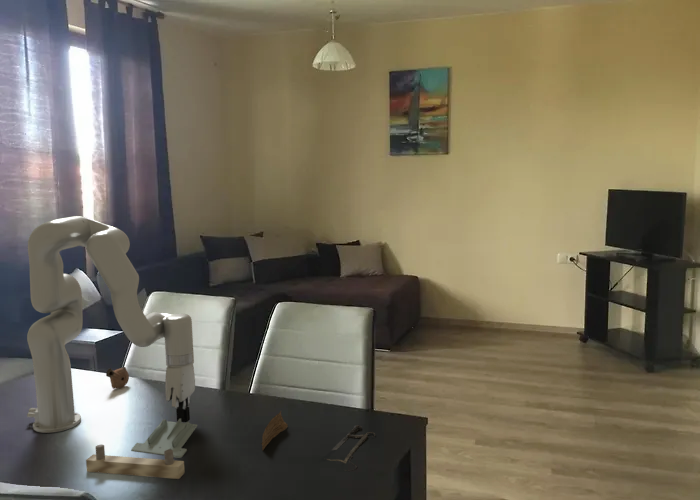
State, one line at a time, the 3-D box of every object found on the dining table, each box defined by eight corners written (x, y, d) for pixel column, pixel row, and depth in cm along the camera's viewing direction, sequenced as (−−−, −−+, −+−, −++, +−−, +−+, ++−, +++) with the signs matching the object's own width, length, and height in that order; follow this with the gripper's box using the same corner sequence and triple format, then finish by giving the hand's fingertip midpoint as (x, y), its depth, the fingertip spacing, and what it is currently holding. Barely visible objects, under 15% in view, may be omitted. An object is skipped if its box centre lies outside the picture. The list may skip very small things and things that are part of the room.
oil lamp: (111, 394, 207) (109, 370, 205) (102, 392, 208) (100, 368, 207) (132, 385, 214) (130, 362, 213) (123, 383, 216) (121, 360, 215)
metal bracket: (156, 412, 177) (204, 418, 172) (160, 429, 179) (208, 435, 175) (126, 448, 164) (177, 454, 160) (131, 465, 167) (182, 472, 162)
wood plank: (267, 451, 164) (266, 433, 164) (260, 451, 165) (259, 432, 164) (287, 427, 179) (287, 410, 178) (280, 426, 180) (280, 409, 179)
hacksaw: (355, 428, 179) (355, 423, 179) (389, 430, 174) (389, 425, 174) (315, 469, 157) (314, 463, 157) (353, 473, 153) (352, 467, 153)
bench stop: (86, 471, 155) (85, 448, 154) (93, 465, 158) (92, 442, 157) (179, 478, 151) (177, 455, 150) (184, 472, 154) (183, 449, 153)
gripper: (178, 350, 186) (182, 410, 188) (154, 366, 171) (158, 431, 174) (203, 350, 185) (206, 411, 187) (181, 367, 170) (184, 433, 173)
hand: (183, 420), depth 180 cm, fingers closed
